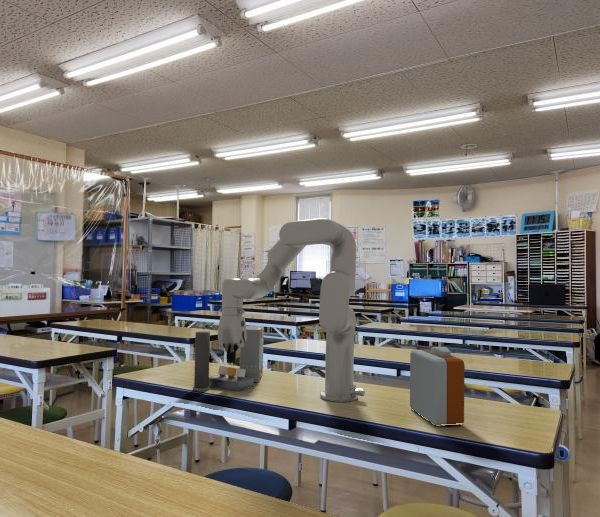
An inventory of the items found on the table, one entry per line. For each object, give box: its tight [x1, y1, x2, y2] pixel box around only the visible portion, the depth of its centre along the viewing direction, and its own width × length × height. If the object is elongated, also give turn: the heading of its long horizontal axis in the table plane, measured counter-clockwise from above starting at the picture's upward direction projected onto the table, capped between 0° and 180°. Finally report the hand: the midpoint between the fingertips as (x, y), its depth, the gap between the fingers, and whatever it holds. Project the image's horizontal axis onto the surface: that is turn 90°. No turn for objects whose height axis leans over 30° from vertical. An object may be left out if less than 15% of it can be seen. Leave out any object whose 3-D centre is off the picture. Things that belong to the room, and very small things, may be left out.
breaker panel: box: [209, 374, 254, 392], centre depth 170 cm, size 14×9×3 cm, turn 62°
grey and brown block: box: [409, 346, 466, 425], centre depth 137 cm, size 18×9×21 cm, turn 9°
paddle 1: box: [236, 367, 246, 379], centre depth 168 cm, size 2×3×4 cm, turn 151°
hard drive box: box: [239, 325, 265, 383], centre depth 184 cm, size 16×8×20 cm, turn 179°
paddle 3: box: [217, 365, 229, 376], centre depth 172 cm, size 2×3×4 cm, turn 152°
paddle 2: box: [227, 366, 237, 378], centre depth 170 cm, size 2×3×4 cm, turn 152°
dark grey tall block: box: [192, 331, 211, 392], centre depth 165 cm, size 6×6×20 cm
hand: (231, 362), depth 170 cm, fingers closed
